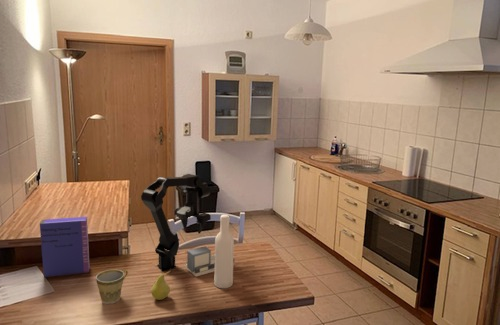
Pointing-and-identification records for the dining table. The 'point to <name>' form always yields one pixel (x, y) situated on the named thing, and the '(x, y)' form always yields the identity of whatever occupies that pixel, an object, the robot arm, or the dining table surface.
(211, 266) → the shelf
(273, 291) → the dining table surface
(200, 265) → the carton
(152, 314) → the dining table surface
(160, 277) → the fruit
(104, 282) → the ceramic cup
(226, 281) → the bottle
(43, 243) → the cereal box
